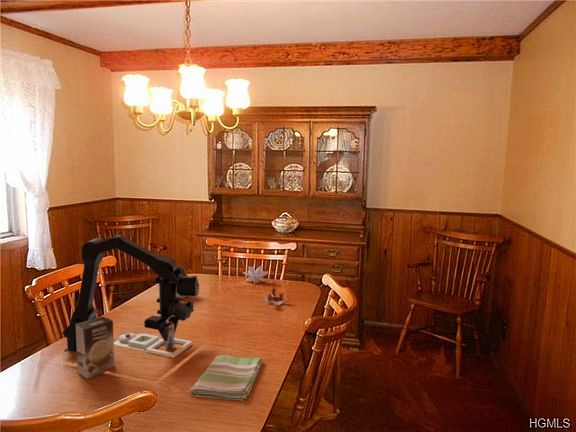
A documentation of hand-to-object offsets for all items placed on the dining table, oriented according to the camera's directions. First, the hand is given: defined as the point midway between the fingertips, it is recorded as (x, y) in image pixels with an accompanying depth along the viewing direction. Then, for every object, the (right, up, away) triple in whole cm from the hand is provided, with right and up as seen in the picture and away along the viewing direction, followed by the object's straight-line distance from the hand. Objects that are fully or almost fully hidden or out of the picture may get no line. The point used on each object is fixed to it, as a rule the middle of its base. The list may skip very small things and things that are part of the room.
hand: (169, 338), depth 149 cm
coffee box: (-19, -7, -13) cm, 24 cm away
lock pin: (0, -2, 0) cm, 2 cm away
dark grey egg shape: (-11, +4, +57) cm, 58 cm away
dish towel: (+23, -8, -17) cm, 30 cm away
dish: (0, -4, +1) cm, 5 cm away
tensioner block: (-13, -4, +6) cm, 15 cm away
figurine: (+35, +2, +49) cm, 60 cm away
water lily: (+24, +6, +80) cm, 84 cm away
